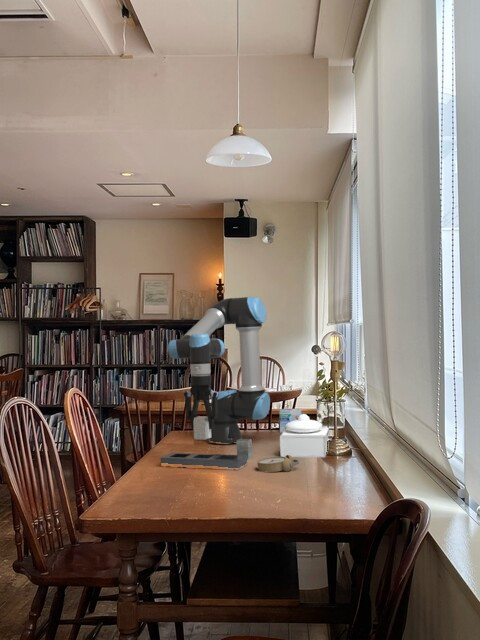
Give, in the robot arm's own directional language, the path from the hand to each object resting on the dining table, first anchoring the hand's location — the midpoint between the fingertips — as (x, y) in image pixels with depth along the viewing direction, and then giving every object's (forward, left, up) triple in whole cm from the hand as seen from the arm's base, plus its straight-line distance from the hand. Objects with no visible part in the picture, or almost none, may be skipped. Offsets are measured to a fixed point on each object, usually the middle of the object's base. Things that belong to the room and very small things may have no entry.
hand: (202, 437), depth 233 cm
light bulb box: (-80, +12, -11) cm, 82 cm away
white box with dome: (-31, +32, -11) cm, 45 cm away
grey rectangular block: (0, 0, 0) cm, 0 cm away
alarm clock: (-1, +29, -11) cm, 31 cm away
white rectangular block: (-12, +12, -11) cm, 20 cm away
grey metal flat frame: (0, 0, -11) cm, 11 cm away
